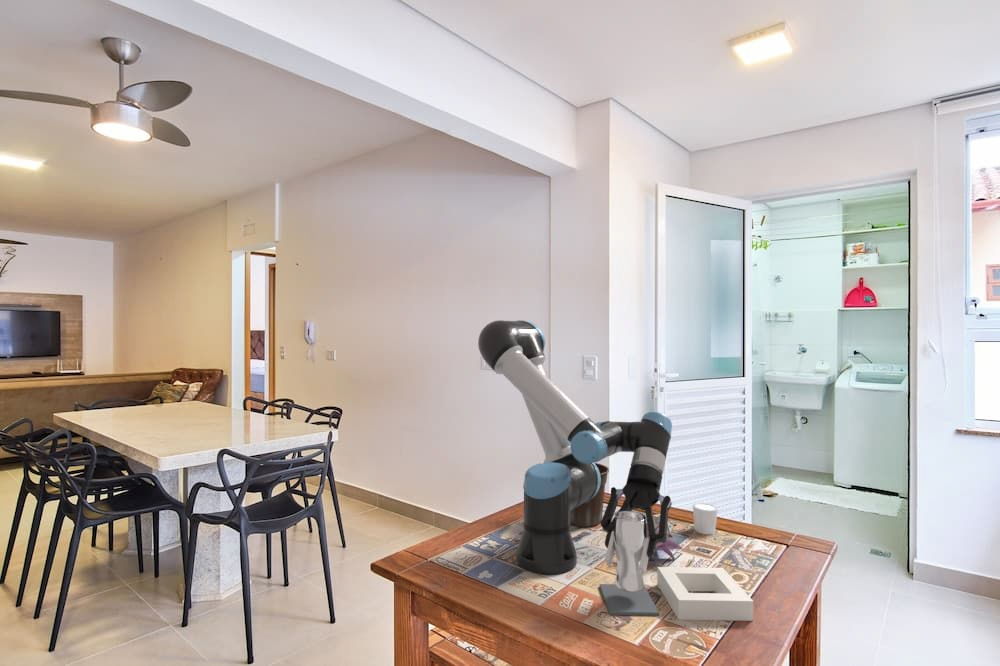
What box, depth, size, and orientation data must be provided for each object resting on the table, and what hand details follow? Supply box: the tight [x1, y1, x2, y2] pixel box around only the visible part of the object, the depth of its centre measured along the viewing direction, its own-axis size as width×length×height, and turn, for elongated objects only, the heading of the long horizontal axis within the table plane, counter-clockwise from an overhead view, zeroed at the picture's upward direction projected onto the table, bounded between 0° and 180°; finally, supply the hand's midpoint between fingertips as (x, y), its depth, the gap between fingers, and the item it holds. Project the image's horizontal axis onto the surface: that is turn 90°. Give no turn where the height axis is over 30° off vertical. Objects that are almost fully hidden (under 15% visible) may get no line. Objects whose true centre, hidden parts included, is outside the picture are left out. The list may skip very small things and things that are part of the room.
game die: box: [646, 513, 678, 539], centre depth 149 cm, size 9×8×10 cm
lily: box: [646, 521, 684, 561], centre depth 138 cm, size 12×12×10 cm
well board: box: [656, 566, 755, 622], centre depth 117 cm, size 15×15×4 cm
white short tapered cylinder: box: [692, 503, 719, 535], centre depth 158 cm, size 7×7×7 cm
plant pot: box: [570, 462, 610, 528], centre depth 165 cm, size 16×16×16 cm
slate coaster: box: [599, 583, 660, 616], centre depth 117 cm, size 10×12×1 cm
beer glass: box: [614, 510, 647, 592], centre depth 116 cm, size 7×7×15 cm
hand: (624, 566), depth 113 cm, fingers closed on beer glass, 7 cm apart
